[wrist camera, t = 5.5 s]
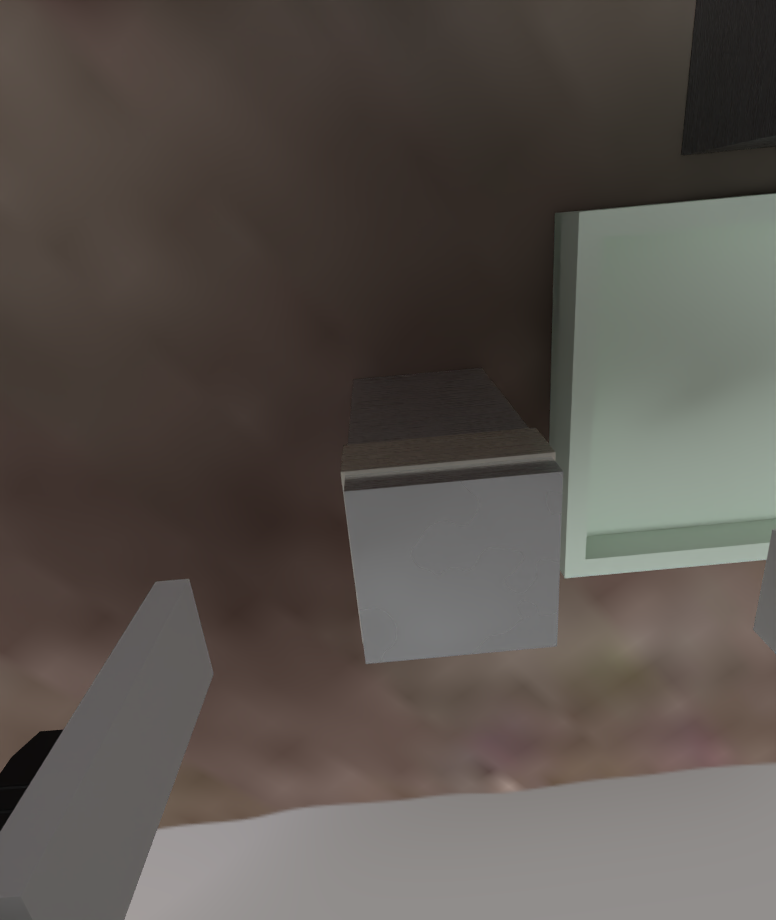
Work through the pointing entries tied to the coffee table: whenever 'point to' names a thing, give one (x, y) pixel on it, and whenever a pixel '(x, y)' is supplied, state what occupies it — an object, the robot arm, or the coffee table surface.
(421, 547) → the module
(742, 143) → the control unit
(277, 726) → the coffee table surface
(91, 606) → the coffee table surface
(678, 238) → the tray
